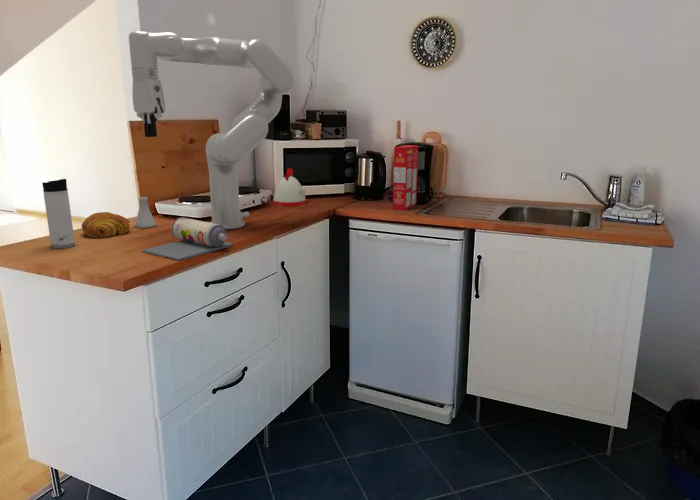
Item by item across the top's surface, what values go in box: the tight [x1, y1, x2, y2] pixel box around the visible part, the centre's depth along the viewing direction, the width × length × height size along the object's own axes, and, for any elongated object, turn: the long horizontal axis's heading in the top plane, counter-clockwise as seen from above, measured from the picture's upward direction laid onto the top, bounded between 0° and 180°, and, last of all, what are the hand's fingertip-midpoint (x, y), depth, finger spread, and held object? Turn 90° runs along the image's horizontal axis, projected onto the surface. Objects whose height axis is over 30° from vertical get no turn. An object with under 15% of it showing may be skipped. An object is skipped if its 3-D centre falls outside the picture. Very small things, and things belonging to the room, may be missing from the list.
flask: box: [134, 196, 158, 229], centre depth 185 cm, size 7×7×10 cm
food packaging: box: [392, 144, 419, 211], centre depth 221 cm, size 15×5×25 cm, turn 155°
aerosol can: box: [171, 216, 228, 247], centre depth 159 cm, size 7×7×20 cm
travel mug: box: [41, 178, 76, 250], centre depth 156 cm, size 6×7×20 cm
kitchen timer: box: [272, 167, 307, 207], centre depth 229 cm, size 14×14×15 cm
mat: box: [141, 240, 234, 261], centre depth 156 cm, size 20×16×1 cm
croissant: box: [81, 211, 130, 239], centre depth 175 cm, size 14×16×8 cm
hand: (151, 136), depth 168 cm, fingers closed
